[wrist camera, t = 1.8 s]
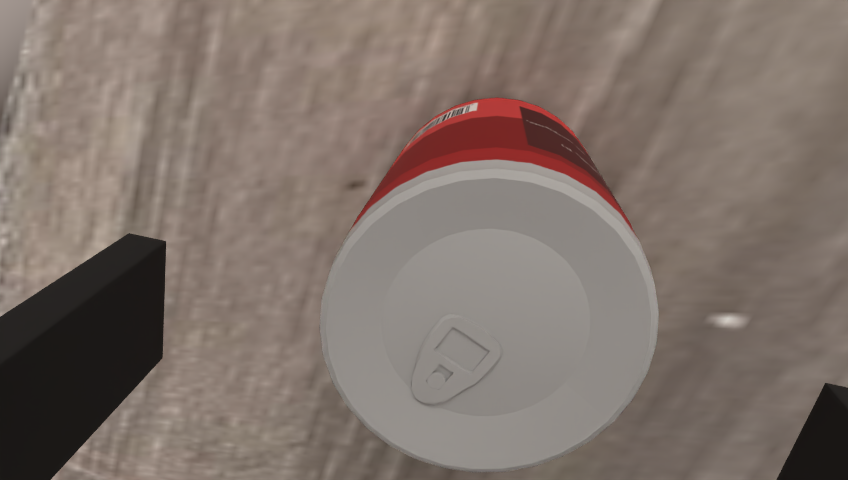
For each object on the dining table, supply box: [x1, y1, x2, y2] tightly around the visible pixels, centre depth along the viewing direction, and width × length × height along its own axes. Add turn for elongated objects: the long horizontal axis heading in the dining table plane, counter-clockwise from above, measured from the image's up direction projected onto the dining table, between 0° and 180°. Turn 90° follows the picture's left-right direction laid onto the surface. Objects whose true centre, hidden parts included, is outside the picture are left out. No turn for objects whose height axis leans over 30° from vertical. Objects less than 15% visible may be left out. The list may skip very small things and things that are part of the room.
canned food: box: [320, 98, 659, 472], centre depth 19 cm, size 8×8×11 cm
